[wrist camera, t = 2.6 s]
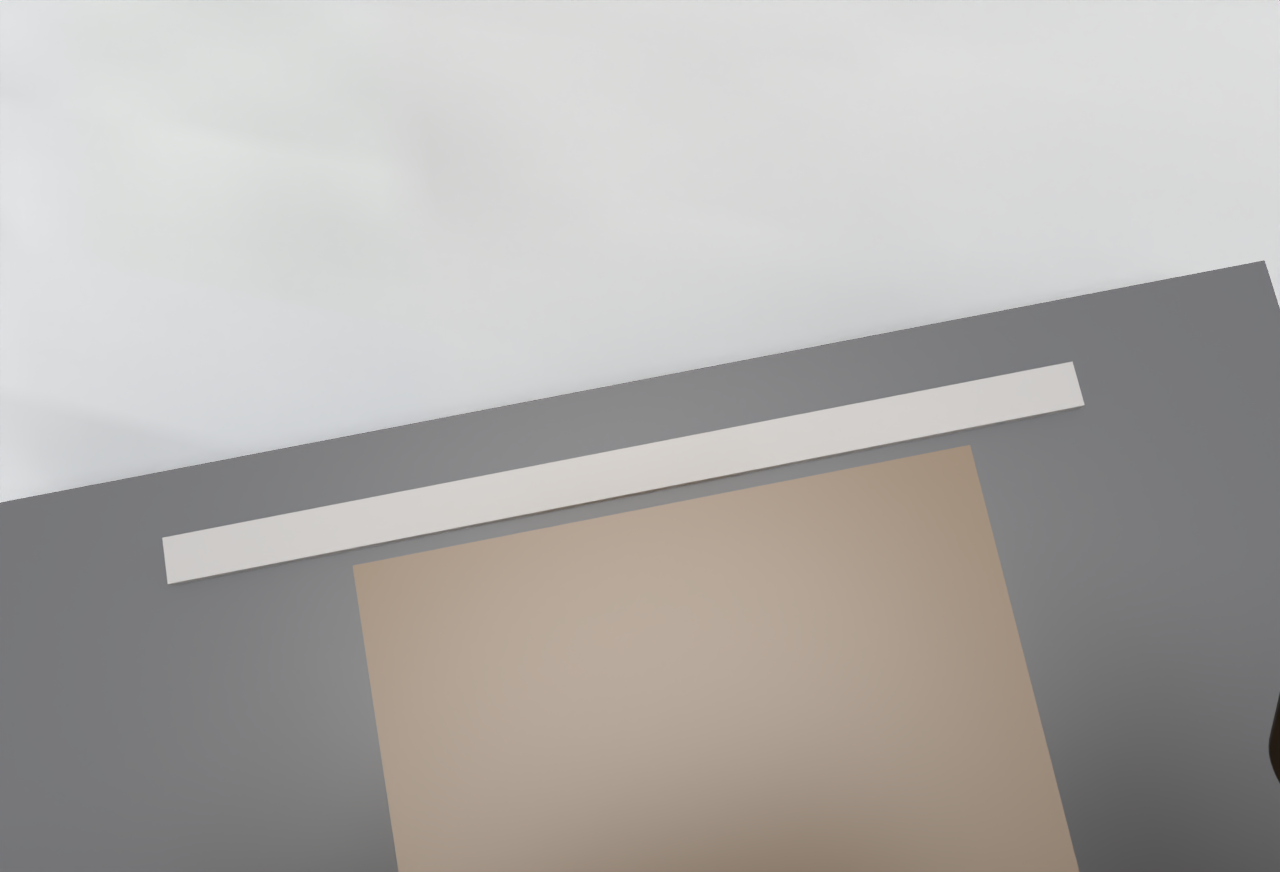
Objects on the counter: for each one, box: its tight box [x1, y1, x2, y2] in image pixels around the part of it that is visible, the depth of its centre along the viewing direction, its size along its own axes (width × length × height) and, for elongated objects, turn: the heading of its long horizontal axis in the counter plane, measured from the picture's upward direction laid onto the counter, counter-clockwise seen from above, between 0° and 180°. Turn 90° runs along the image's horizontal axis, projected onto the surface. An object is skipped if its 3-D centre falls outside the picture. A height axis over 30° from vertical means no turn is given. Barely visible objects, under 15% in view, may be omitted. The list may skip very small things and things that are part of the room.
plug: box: [353, 445, 1079, 872], centre depth 12 cm, size 4×4×10 cm
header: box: [0, 261, 1280, 872], centre depth 16 cm, size 8×18×3 cm, turn 101°
